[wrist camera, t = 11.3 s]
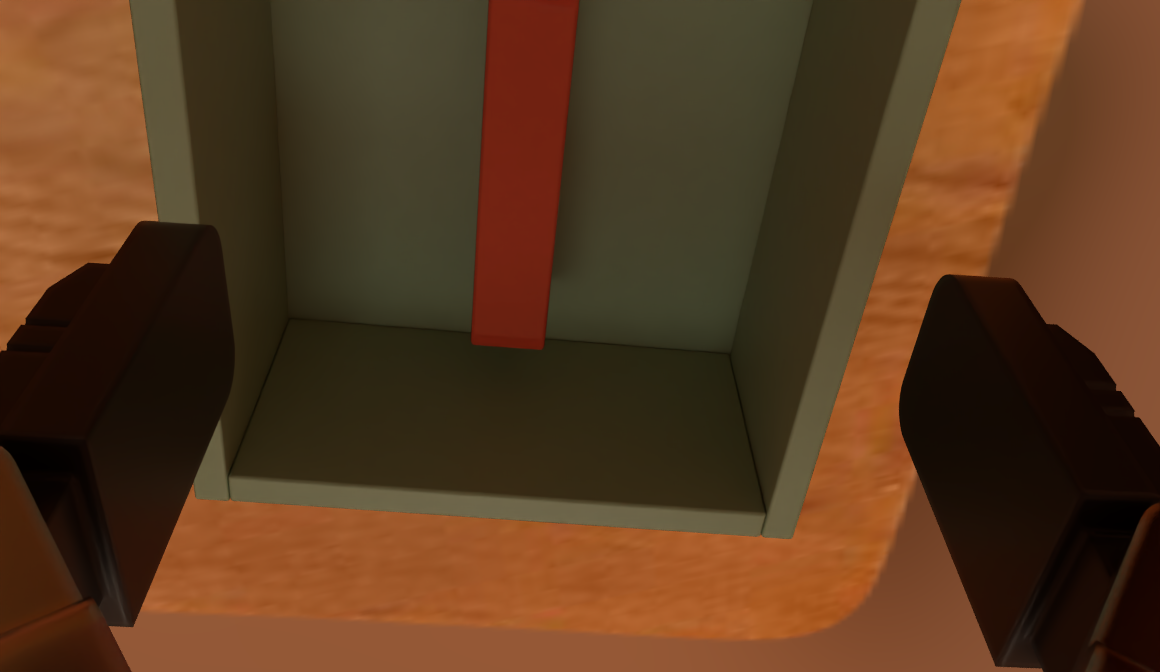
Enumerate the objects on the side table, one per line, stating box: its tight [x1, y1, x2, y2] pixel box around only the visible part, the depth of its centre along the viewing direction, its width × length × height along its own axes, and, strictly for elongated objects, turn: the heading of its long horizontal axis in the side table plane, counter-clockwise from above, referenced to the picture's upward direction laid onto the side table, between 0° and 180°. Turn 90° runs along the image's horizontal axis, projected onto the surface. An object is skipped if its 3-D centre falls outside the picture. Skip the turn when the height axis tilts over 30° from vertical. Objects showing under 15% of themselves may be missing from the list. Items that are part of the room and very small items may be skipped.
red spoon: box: [470, 0, 580, 350], centre depth 17 cm, size 11×5×2 cm, turn 174°
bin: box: [129, 0, 961, 539], centre depth 17 cm, size 11×15×6 cm
